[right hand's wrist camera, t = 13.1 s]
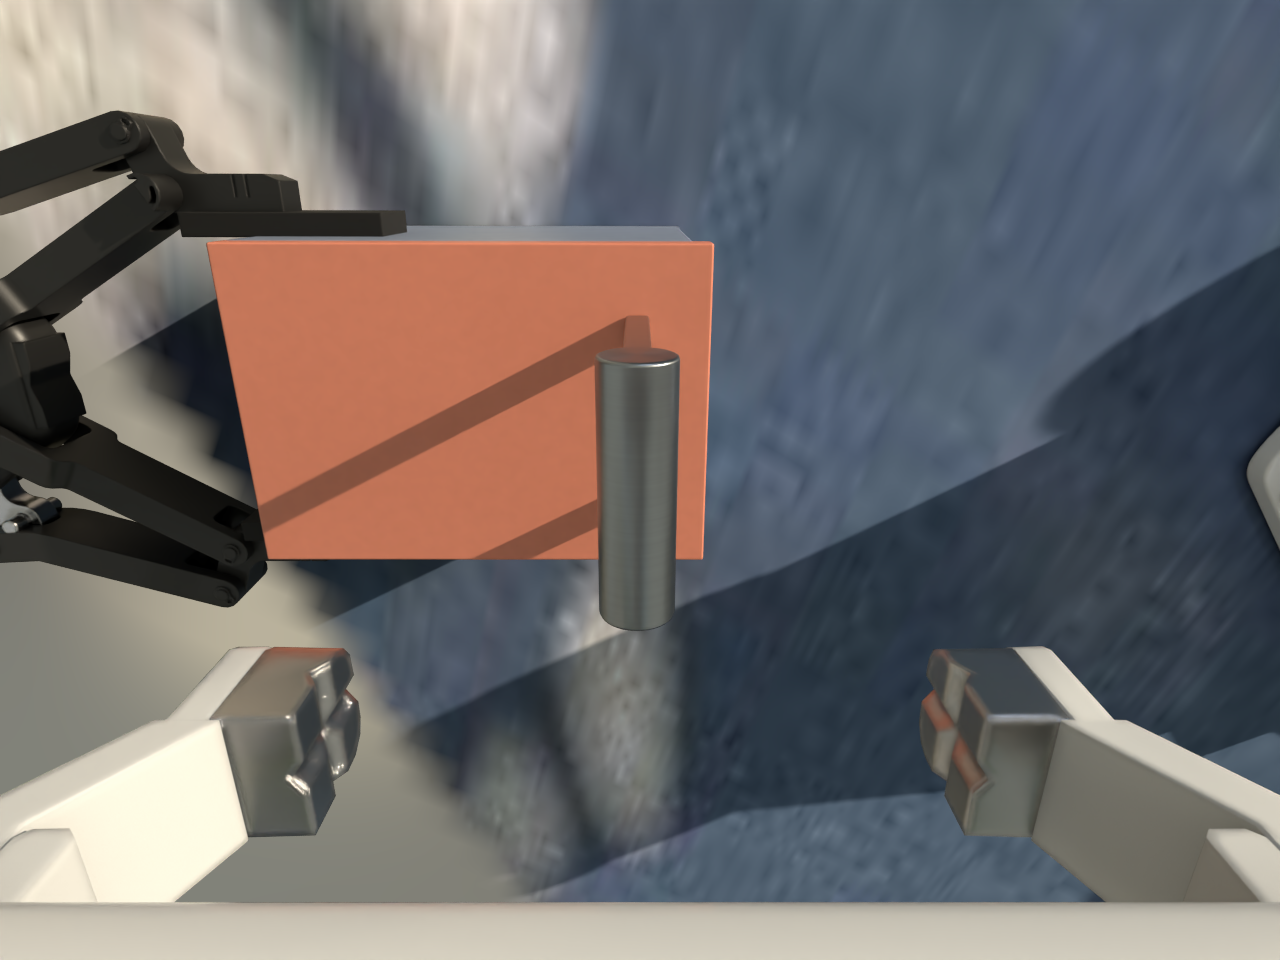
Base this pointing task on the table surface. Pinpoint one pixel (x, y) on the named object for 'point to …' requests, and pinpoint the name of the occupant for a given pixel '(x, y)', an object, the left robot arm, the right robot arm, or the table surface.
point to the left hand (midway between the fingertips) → (411, 380)
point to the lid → (477, 402)
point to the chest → (510, 234)
